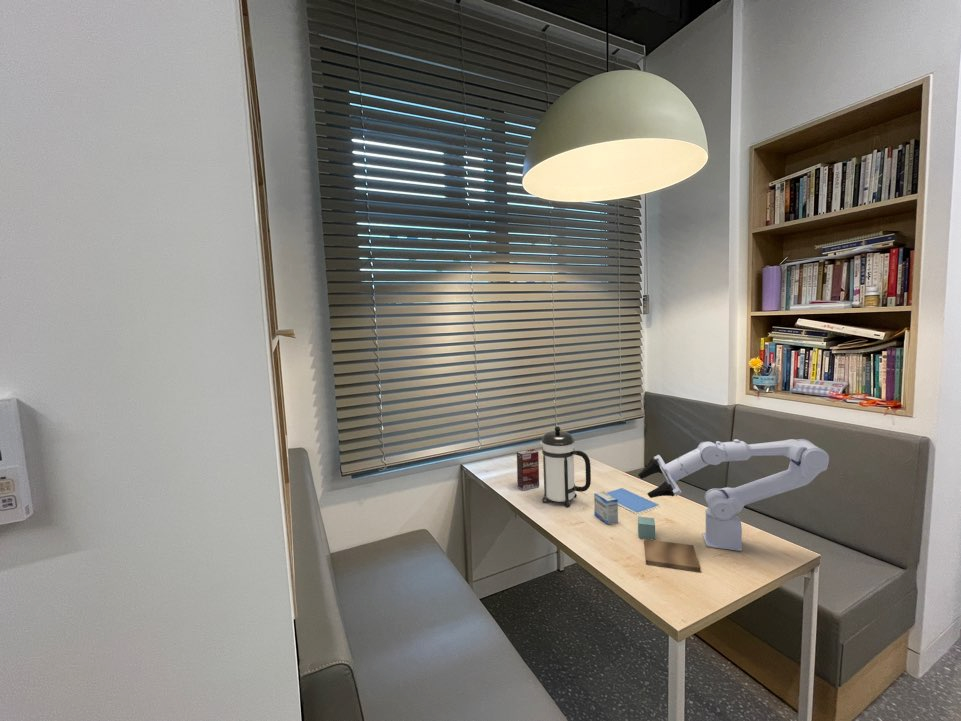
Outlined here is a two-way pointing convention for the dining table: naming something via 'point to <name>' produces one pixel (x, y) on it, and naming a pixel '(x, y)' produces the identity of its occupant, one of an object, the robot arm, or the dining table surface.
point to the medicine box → (606, 507)
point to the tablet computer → (632, 501)
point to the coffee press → (561, 467)
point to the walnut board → (671, 555)
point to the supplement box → (527, 469)
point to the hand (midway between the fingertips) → (644, 486)
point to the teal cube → (646, 528)
